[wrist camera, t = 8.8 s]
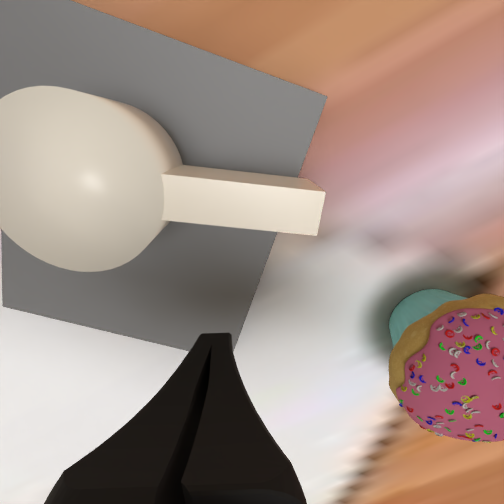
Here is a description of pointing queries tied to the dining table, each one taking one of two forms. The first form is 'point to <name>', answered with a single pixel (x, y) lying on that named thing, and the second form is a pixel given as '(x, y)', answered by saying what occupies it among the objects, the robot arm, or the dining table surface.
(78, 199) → the cream ball joystick
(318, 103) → the post board
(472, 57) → the dining table surface
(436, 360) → the cupcake
